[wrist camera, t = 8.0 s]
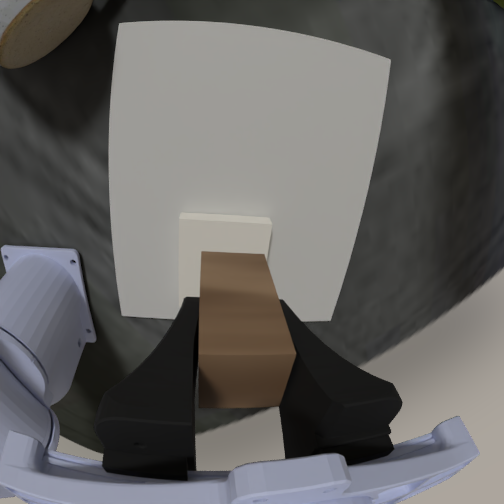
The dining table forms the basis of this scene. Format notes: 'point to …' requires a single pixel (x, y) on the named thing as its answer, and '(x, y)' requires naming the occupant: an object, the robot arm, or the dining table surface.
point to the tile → (216, 243)
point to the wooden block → (241, 333)
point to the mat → (239, 152)
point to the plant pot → (500, 2)
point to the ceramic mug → (36, 28)
